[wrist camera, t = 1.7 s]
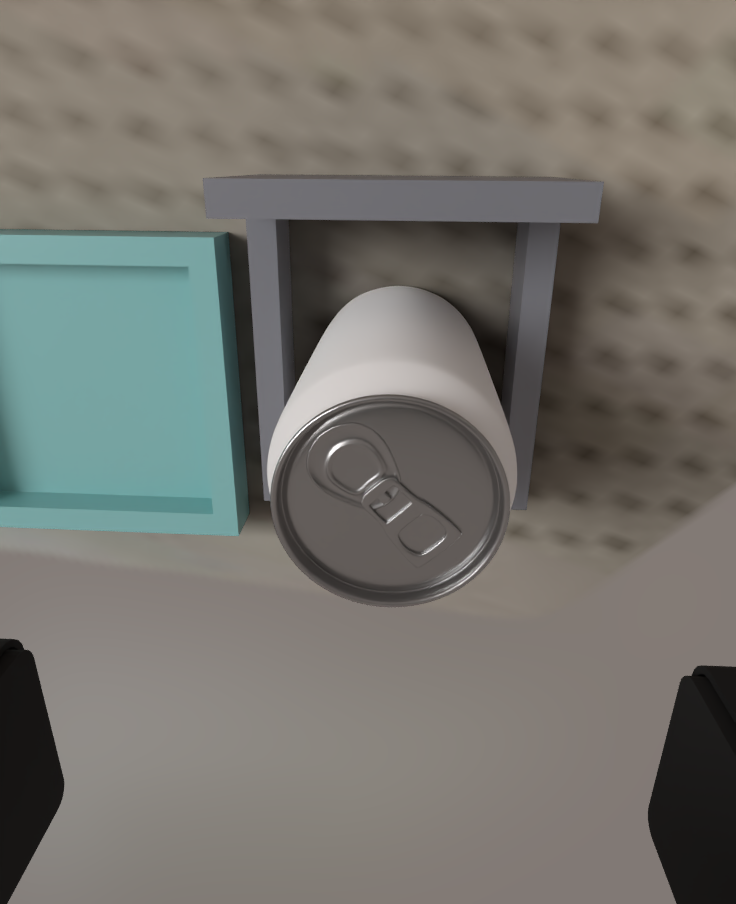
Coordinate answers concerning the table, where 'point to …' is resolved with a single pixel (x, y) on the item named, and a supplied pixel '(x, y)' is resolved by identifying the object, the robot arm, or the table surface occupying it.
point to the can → (393, 454)
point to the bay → (405, 200)
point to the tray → (120, 383)
